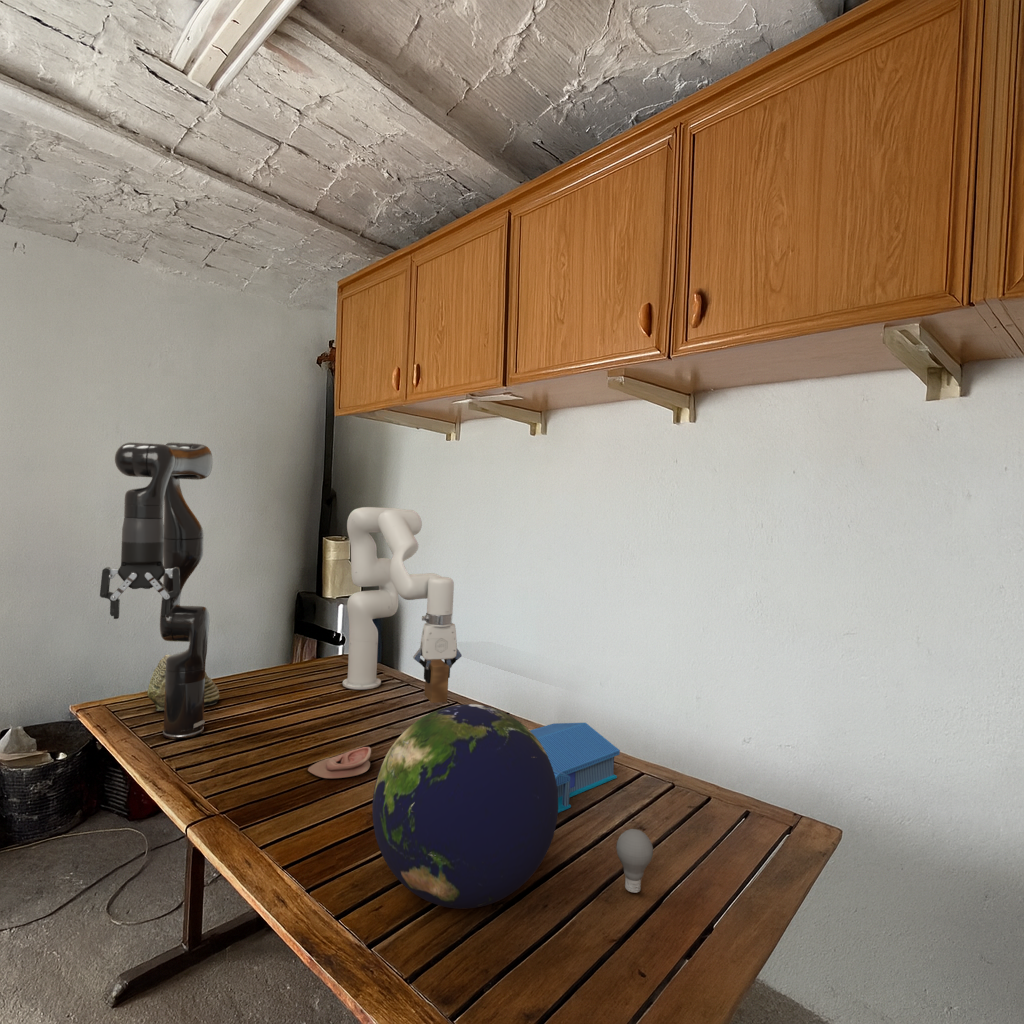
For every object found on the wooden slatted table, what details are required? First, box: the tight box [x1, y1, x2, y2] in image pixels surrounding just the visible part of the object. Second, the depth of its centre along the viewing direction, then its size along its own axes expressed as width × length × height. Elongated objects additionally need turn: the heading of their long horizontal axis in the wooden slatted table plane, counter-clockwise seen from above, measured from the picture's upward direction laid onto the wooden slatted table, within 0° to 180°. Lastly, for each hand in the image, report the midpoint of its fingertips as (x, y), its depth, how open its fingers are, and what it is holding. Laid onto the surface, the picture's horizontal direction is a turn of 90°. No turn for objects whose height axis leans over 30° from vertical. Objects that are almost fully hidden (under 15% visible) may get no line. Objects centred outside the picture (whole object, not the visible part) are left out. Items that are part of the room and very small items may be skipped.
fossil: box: [147, 654, 221, 712], centre depth 185 cm, size 9×18×15 cm, turn 132°
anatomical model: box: [307, 746, 372, 779], centre depth 147 cm, size 13×4×12 cm
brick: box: [424, 659, 449, 704], centre depth 185 cm, size 5×7×10 cm, turn 24°
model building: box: [529, 722, 621, 814], centre depth 143 cm, size 39×24×10 cm, turn 132°
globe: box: [371, 703, 559, 910], centre depth 103 cm, size 30×30×30 cm
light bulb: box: [615, 828, 654, 894], centre depth 106 cm, size 6×6×10 cm
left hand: (140, 617), depth 131 cm, fingers open, 8 cm apart
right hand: (436, 680), depth 186 cm, fingers closed on brick, 4 cm apart
